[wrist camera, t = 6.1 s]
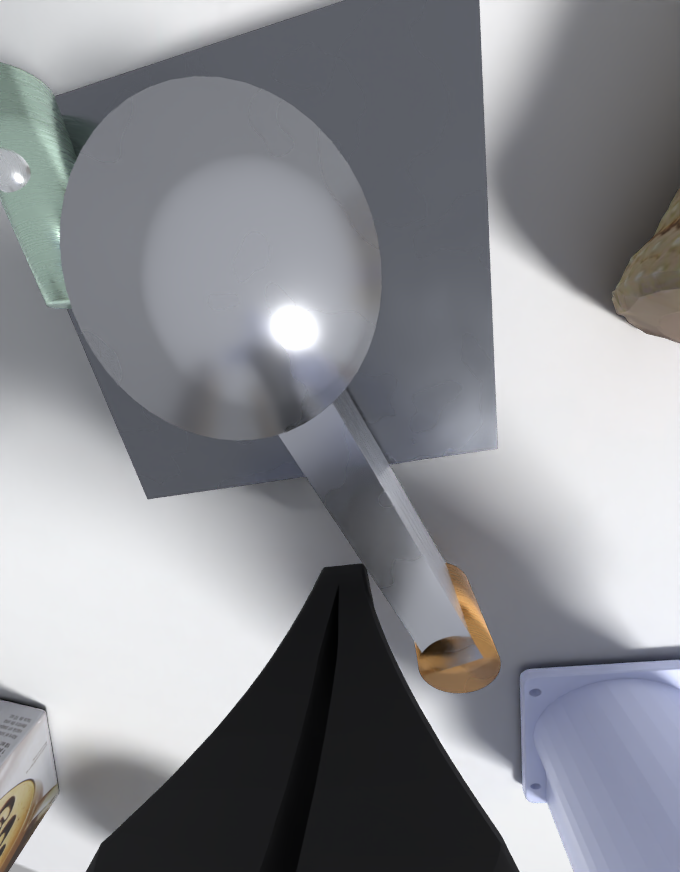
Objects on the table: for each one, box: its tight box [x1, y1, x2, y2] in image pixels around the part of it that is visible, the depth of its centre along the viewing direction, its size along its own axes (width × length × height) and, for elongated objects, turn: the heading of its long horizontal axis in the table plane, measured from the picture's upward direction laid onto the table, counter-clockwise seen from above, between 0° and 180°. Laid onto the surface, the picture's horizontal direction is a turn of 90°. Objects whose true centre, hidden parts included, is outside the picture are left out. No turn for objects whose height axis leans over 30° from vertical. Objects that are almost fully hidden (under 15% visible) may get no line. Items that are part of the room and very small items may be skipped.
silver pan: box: [60, 76, 501, 693], centre depth 9 cm, size 15×6×3 cm, turn 30°
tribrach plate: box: [0, 0, 498, 499], centre depth 9 cm, size 11×12×4 cm
